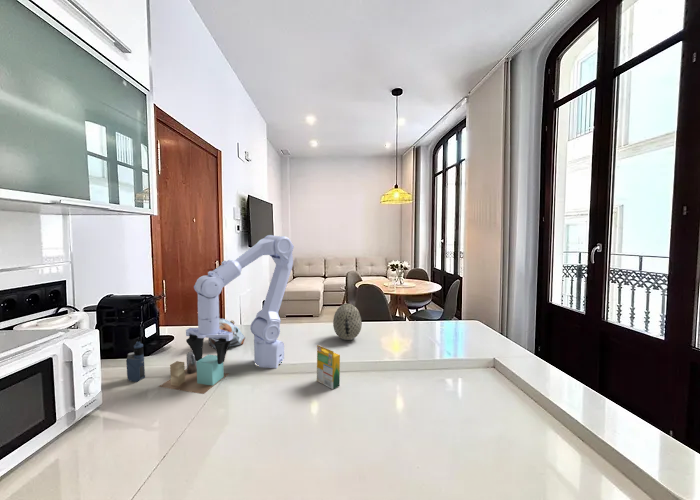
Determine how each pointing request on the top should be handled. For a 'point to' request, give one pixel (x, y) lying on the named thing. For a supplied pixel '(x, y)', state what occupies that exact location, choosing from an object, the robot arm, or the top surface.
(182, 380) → the maple post
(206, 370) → the teal foam cube
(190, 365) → the metal post
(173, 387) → the board
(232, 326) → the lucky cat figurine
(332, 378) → the crayon box
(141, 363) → the vaping device
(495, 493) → the top surface
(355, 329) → the decorative egg
